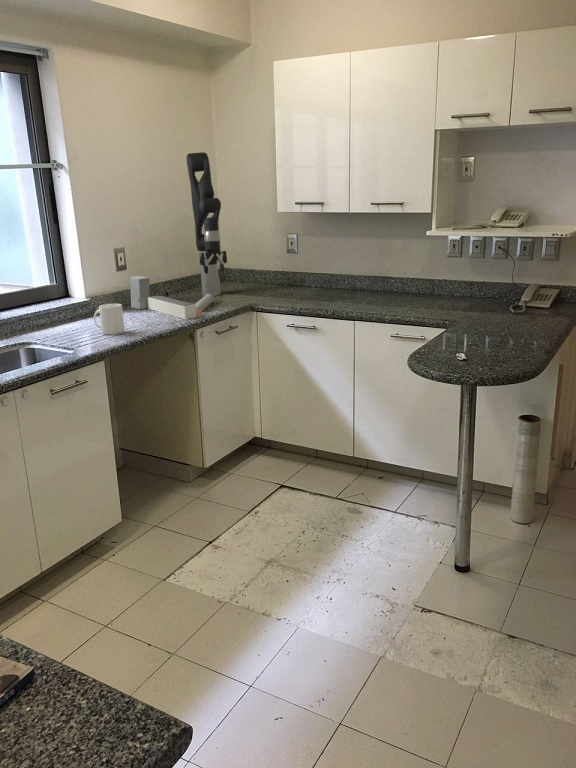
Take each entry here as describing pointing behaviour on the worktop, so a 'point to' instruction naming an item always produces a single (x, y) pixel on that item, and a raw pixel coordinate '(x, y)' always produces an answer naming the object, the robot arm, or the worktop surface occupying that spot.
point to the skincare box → (139, 292)
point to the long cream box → (173, 307)
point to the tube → (204, 302)
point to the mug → (110, 318)
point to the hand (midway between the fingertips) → (214, 272)
